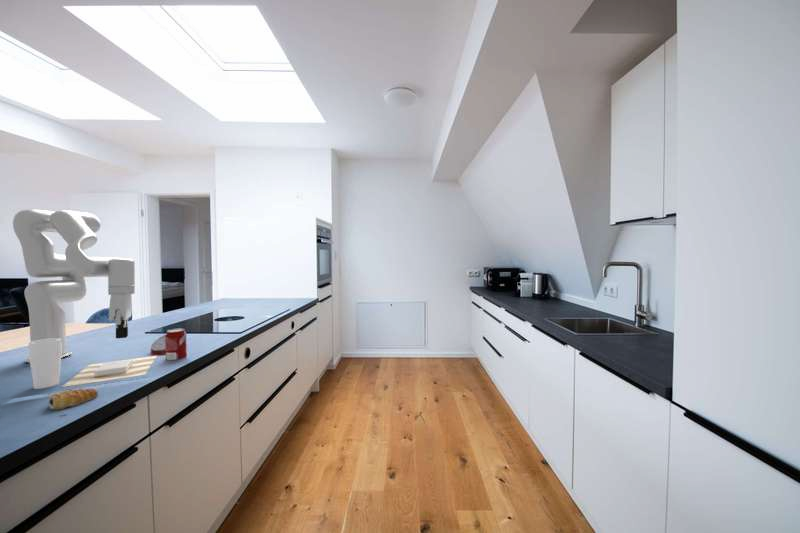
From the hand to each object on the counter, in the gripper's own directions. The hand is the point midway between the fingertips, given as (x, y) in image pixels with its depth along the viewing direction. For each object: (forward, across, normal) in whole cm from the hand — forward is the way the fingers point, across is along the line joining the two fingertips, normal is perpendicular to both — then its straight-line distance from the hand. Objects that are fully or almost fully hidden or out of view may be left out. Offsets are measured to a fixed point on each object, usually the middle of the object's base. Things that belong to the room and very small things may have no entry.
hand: (121, 337), depth 118 cm
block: (+8, +8, +1) cm, 11 cm away
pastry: (+10, +37, -3) cm, 38 cm away
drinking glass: (+10, +19, -14) cm, 25 cm away
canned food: (+10, -6, +13) cm, 18 cm away
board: (+10, +12, +1) cm, 15 cm away
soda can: (+10, +7, +18) cm, 21 cm away
